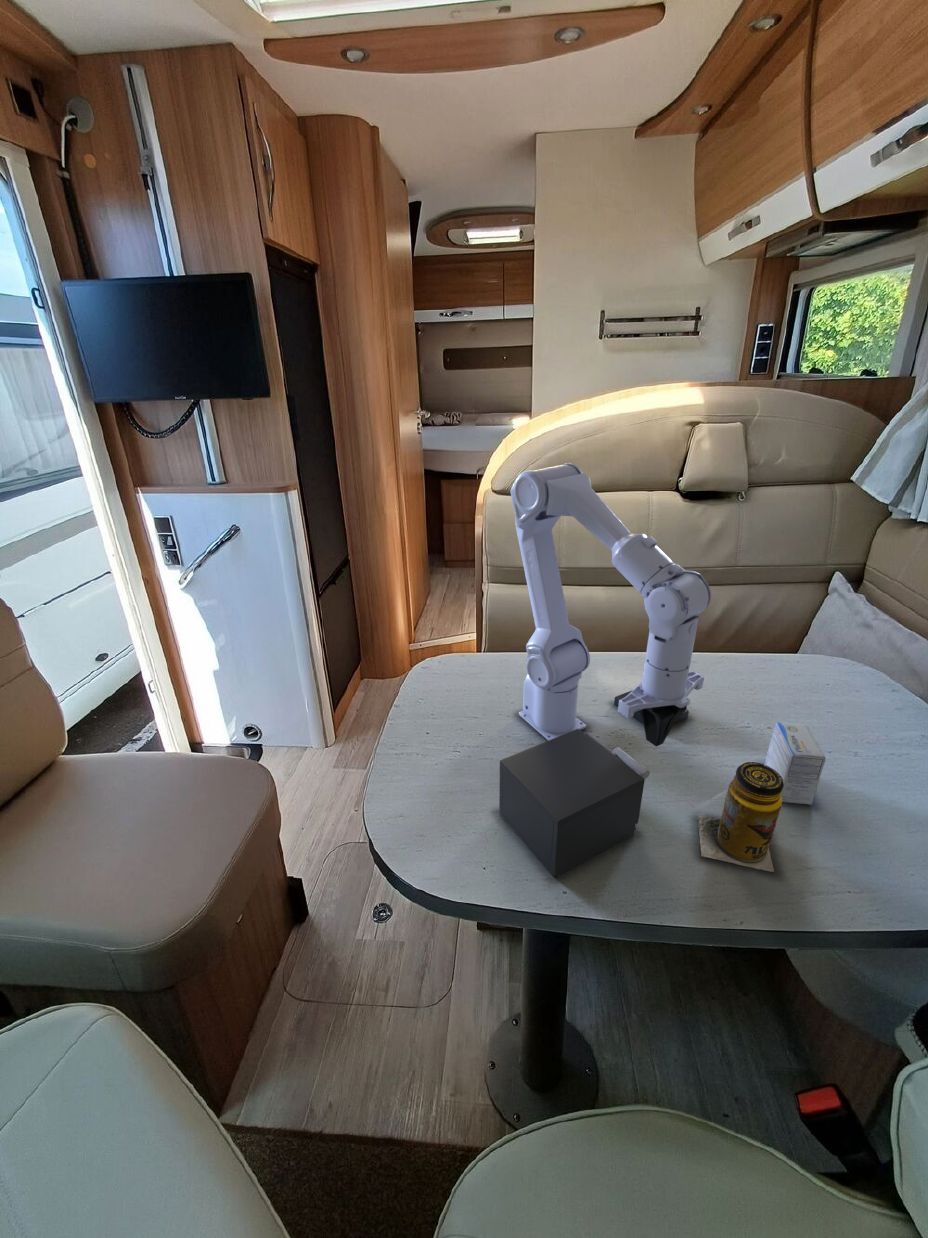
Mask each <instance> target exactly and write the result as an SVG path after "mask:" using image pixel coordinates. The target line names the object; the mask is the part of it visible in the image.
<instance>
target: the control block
mask: <svg viewBox="0 0 928 1238" xmlns="http://www.w3.org/2000/svg"><path fill="white" fill-rule="evenodd" d="M633 690H634V689H631V690H629V691H626V692H624V693H622V694H621V693H620V694H618V695H615V697H614V701H613V705H614V706H616V707H617V708H618V705H619V700H621V699H623V698H625V697H626V696H627V695H628V694H629V693H630V692H632V691H633ZM689 712H690V710H688V708H686V711H684V712H683V713H682V714H681V715H680V716H679V717H678V719H677V720H676V721H675V723H674V724H673V726H674V725H676V724H678V723H680V722H683V721H685V720H687V719H688V717H689V714H690V713H689ZM632 718H633V719H635V720H636V721H637V722H639V723H640V724H641V725H643V726H644V723H643V719H642V716H641V714H640V711H637V712H635V713H634V715H633V717H632Z"/></svg>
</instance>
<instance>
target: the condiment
mask: <svg viewBox="0 0 928 1238" xmlns="http://www.w3.org/2000/svg"><path fill="white" fill-rule="evenodd" d="M735 770H736V771H735V775H734V776H733V779H732V780H731V781H730V783H729V784H728V788H727V792H726V796H725V800H724V805H723V809H722V812H721V816H720V817H721V818H717V817H711V816H709V815H704V814H697V818H698V819H697V821H698V833H699V845H700V846H699V847H700V855H701V857H703V858H709V859H713V860H718V861H722V862H728V863H732V864H735V865H739V866H743V867H748V868H752V869H756V870H762V871H766V872H771V873H772V872H775V869H774V865H773V861H772V857H771V852H770V844H771V843H772V838H773V835H774V832H775V828H776V826H777V821H778V818H779V815H780V812H781V809H782V804H783V802H782V798H781V793H782V789H783V787H784V784H783V779H782V777H781V776H780V775H779V773H778V772H777V771H775V770H774V769H772V768H771V767H769V766H767V765H765V763H760V762H757V761H756V762H755V761H747V762H744V763H742V764H740V765H739V766H738V767H737V768H736V769H735Z"/></svg>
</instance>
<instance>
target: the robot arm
mask: <svg viewBox="0 0 928 1238" xmlns="http://www.w3.org/2000/svg"><path fill="white" fill-rule="evenodd" d="M509 492H510V498H511V501H512V508H513V513H514V517H515V518H514V524H515V531H516V536H517V540H518V541H517V542H518V545H519V550H520V555H521V561H522V565H523V570H524V576H525V581H526V586H527V592H528V597H529V601H530V606H531V612H532V616H533V621H534V626H535V630H534V632H533V634H532V635H531V637H530V638H529V640H528V642H527V643H526V645H525V649H526V662H525V667H526V673H527V675H526V677H525V679H524V682H523V695H522V697H523V698H522V710H520V711H519V712H518V715H519V717H521V718H522V719H523V720H524V721H525V722H526V723H527V724H529V726H531V727H532V728H533V729H535V731H537V732H538V733H539V734H540V735H541V736H542V737H543V738H545V740H546V741H549V740H551V739H554V738H556V737H559V736H561V735H563V734H566V733H568V732H571V731H573V730H576V729H579V730H580V731H582V730H584V729H586V728H587V724H586V723H584V721H582V720H580V718H578V717H577V707H578V694H579V685H580V684H579V683H580V679H582V674H583V672H584V671H586V670H587V669H588V668H589V666H590V663H591V655H590V651H589V648H588V647H587V645H586V644H585V642H584V639H583V634H582V631H581V630H580V629H579V628H578V627H575V626H573V625H571V624H570V621H569V616H568V610H567V605H566V600H565V595H564V594H565V593H564V589H563V584H562V578H561V573H560V567H559V562H558V557H557V551H556V546H555V542H554V541H555V540H554V536H553V529H554V527H555V525H556V524H557V523H558V521H559V520H560V518H561V517H573V518H574V519H575V521H577V522H578V523H580V525H582V526H583V527H584V528H585V529H586V530H587V531H588V532H589V533H591V534H592V535H593V536H594V537H596V539H598V540H599V541H600V542H601V543H602V544H603V545H604V546H605V547H606V548H608V549H609V550H610V551H611V564H612V565H613V567H614V568H615V569H616V570H617V571H618V572H619V573H620V574H621V575H622V576H623V577H624V579H626V580H627V581H628V582H629V583H630V585H632V586H633V587H634V588H635V590H636V591H638V593H639V594H640V595H641V596H642V597H643V606H644V609H645V612H646V614H647V616H648V621H649V623H648V629H649V630H648V631H649V632H648V639H647V645H646V652H645V653H646V654H645V658H644V659H645V660H644V665H643V673H642V679H641V682H639V683H638V685H636V686H635V688H633V689H632V690H633V691H632V692H630V693H629V694H628V695H627V696H626V697H625V698H623V699H621V700H619V705H618V707H617V713H618V714H620V715H621V716H623V717H624V718H626V719H627V720H630V719H632V718H633V715H634V713H635V712H637V711H640V714H641V716H642V719H643V723H644V725H643V728H644V734H645V735H644V736H645V740H646V741H647V742H649V743H650V744H652V745H653V746H654V747H659V746H661V745H663V744H664V742H665V741H666V739H667V737H668V735H669V733H670V732H671V729H672V728H673V726H674V725H675V724H674V723H675V721H676V720H677V719H678V717H679V716H680V715H681V714H682V713H683V712H684V711H686V709H688V708H687V707H688V706H689V705H690V704H691V699H690V698H689V697H688V696H689V695H690V694H691V693H692V692H693V691H694V689H695V690H697V691H699V690H701V689H703V685H704V681H705V676H703V675H701V674H700V673H698V672H696V671H694V670H692V671H690V667H691V662H692V657H693V652H694V645H695V641H696V636H697V629H698V624H699V620H700V616H699V614H701V613H702V612H704V611H705V610H707V608H708V607H709V605H710V603H711V601H712V600H711V599H712V591H711V587H710V584H709V583H708V582H707V580H705V578H704V577H703V575H702V574H701V573H699V572H697V571H694V570H687V569H685V568H684V567H682V566H680V565H679V564H678V563H675V562H674V560H672V559H671V558H670V557H669V556H668V555H667V554H666V553H665V552H664V551H663V550H662V549H661V548H659V546H658V545H657V544H658V541H657V540H656V539H655V538H654V537H653V536H648V535H646V534H645V533H632V532H631V531H630V530H629V529H628V528H627V527H626V526H625V525H624V523H623V522H622V521H621V520H620V519H619V518H618V517H617V515H616V514H615V513H614V512H613V511H612V510H611V508H609V506H608V505H607V504H606V503H605V502H604V501H603V499H602V498H601V497H600V496H599V495H598V494H597V492H596V491H595V490H594V489H593V488H592V483H591V477H590V476H589V475H587V474H586V473H584V472H583V471H582V469H581V467H579V466H578V465H576V464H575V463H571V462H565V463H562V464H560V465H554V466H550V467H544V468H540V469H534V470H524V471H522V472H521V473H519V474H518V476H516V479H515V480H514V483H513V484H512V486H511V488H510V490H509ZM673 724H674V725H673Z"/></svg>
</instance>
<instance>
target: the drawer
mask: <svg viewBox="0 0 928 1238" xmlns="http://www.w3.org/2000/svg"><path fill="white" fill-rule="evenodd" d="M584 734H585V735H587V736H588V737H589V738H590V739H592V740H593V741H594V742H595V743H597V744H598V745H599V746H600V747H602V748H603V749H604V750H605V751H607V752H608V753H609V754H611V755H612V756H613V757H614V758H616V759H617V760H618V761H619V762H621V763H622V764H623V765H624V766H626V767H627V768H628V769H629V770H631V771H632V772H633V773H634V774H636V775H637V776H638V777H639V778H641V779H642V784H641V785H642V786H641V793H640V800H639V806H638V813H637V819H636V825H637V824H639V820H640V813H641V807H642V802H643V801H642V799H643V794H644V787H645V781H646V779H648V777H649V776H650V774H651V772H650V770H649V769H648V768H646V767H645V766H644V765H642V764H641V763H640V762H638V761H637V760H636V759H634V758H633V757H632V756H630V755H629V754H628V753H627V752H626V751H624V750H623V749H622V748H620V747H619V746H617V747H614V749H613V750H612V752H611V751H610V750H609V749H608V748H606V747H605V746H604V745H602V744H601V743H600V742H598V741H597V740H596V739H595V738H593V737H592V736H591V735H590V734H588V733H586V732H585V733H584Z"/></svg>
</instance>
